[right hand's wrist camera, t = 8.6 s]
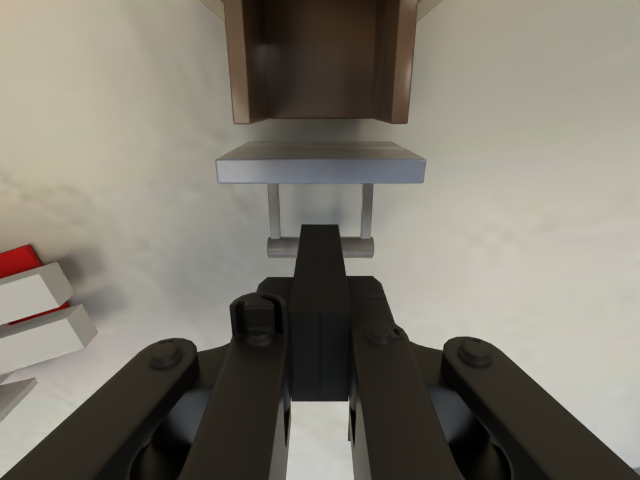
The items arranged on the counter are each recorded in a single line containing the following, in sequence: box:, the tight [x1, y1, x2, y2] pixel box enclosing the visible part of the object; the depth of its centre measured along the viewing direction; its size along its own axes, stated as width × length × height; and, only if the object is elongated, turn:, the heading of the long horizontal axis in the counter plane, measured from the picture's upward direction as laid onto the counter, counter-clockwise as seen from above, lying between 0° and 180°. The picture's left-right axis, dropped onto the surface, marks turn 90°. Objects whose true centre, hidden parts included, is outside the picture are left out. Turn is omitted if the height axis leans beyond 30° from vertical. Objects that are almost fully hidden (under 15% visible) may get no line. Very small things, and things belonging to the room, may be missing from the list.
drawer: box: [216, 0, 426, 258], centre depth 19 cm, size 25×10×8 cm, turn 0°
